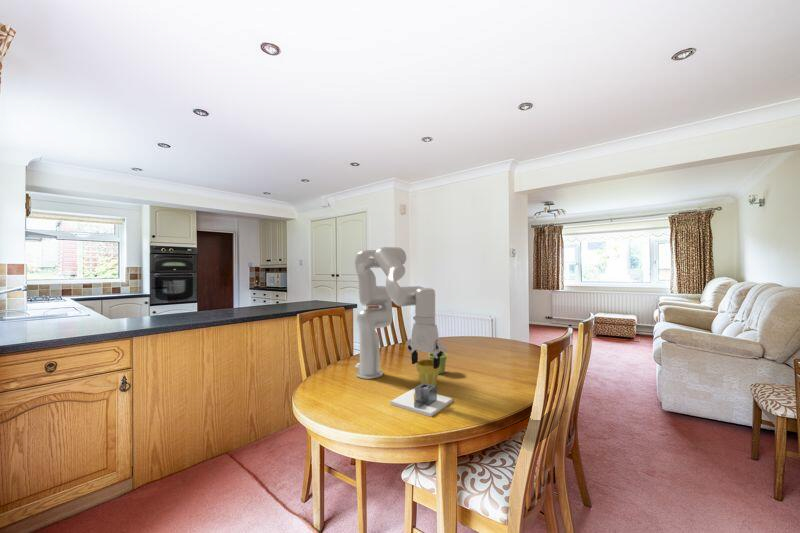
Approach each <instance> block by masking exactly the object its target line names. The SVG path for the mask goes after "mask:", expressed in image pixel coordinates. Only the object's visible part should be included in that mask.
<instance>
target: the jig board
mask: <svg viewBox="0 0 800 533" xmlns="http://www.w3.org/2000/svg"><path fill="white" fill-rule="evenodd" d="M414 393H415V388H412V389H410V390H408V391H406V392H405V393H403V394H402V393H401V395H399V396H397V397H395V398H394V399H391V400H390V401H389V403H390V406H391V405H392V406H395V407H398V408H401V409H404V410H408V411H411V412H414V413H416V414H420V415H424V416H427V417H430V418H432V417H433V416H434V415H436V414H437V413H439V412H440V411H441V410H443V409H444V408H445V407H447V406H448V405H450V404H451V403H452V402H453V401H454V400H453V399H454V398H453V397H449V396H445V395H441V394H438V393H437V401H435V402H434V403H432V404H431V405H430V406H428V405H423V406H421V407H420V408H415V407H414Z"/></svg>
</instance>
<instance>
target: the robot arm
mask: <svg viewBox="0 0 800 533" xmlns="http://www.w3.org/2000/svg"><path fill="white" fill-rule="evenodd" d="M406 262H407V254H406V251H405V250H404V249H403V248H402V247H397V246H396V247H394V246H384V247H379V248H378V249H363V250H360V251H358V252H357V254H356V255H355V259H354V267H355V271H356V274H357V275H356V276H357V280H358V282H357V283H358V295H359V296H358V297H359V298H358V300H359V303H360V304H361V305H362V306H363V307H375V306H378V307H377V308H367V309H363V310H361V311H359V313H358V314H357V326H358V333H359V334H358V335H359V362H357V363H356V364H355V365H354V368H355V369H357V372H356V377H358V378H360V379H364V380H368V379H369V380H373V379H379V378H380V377H382V376H383V374H384V371H383V370H381V369H380V366H381V365H380V362H381V360H380V359H381V358H380V351H381V350H380V337H379V336H380V335H379V333H378V332H377V331H376V329H379V328H380V329H381V328H386V327H390V326H391V324H392V322H393V304H395V305H396V306H398V307H410V306H415V316H413V317H412V318H413V320H414V322H415V323H413V324H412V330H411V338H409V339H407V340H405V343H406V345H407V349H408V350H409V353H410V354H411V364H412V365H415V364H417V362H418V361H419V356H418V355H419V354H418V352H423V353H428V354H430V353H432V354H433V355H434V357H435V358H434V359H433V368H434V369H436V368H438V367H439V366H440V357H441V356H442V355H443V354H444V353H445V351H446V349H447V346H446V345H444V344H443V343H442V342H440V339H439V329H438V325H437V324H436V291H435V289H434V288H432V287H431V288H430V287H423V286H420V285H419V286H418V285H417V286H400V285H399V283H398V281H399V280H400V279H401V280H402V278H403V277H404V276H405V274H406V267H405V266H404V265H405V264H406ZM371 268H372V269H374V268H375V269H378V268H379V269H381V270H382V271H383V273H384V275H385V276H386V280H385V285H377V278H376V277H377V276H376V275H375V273H374V272H373V270H372V269H371ZM392 302H393V304H392ZM439 349H440V350H439ZM417 351H418V352H417Z"/></svg>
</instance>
